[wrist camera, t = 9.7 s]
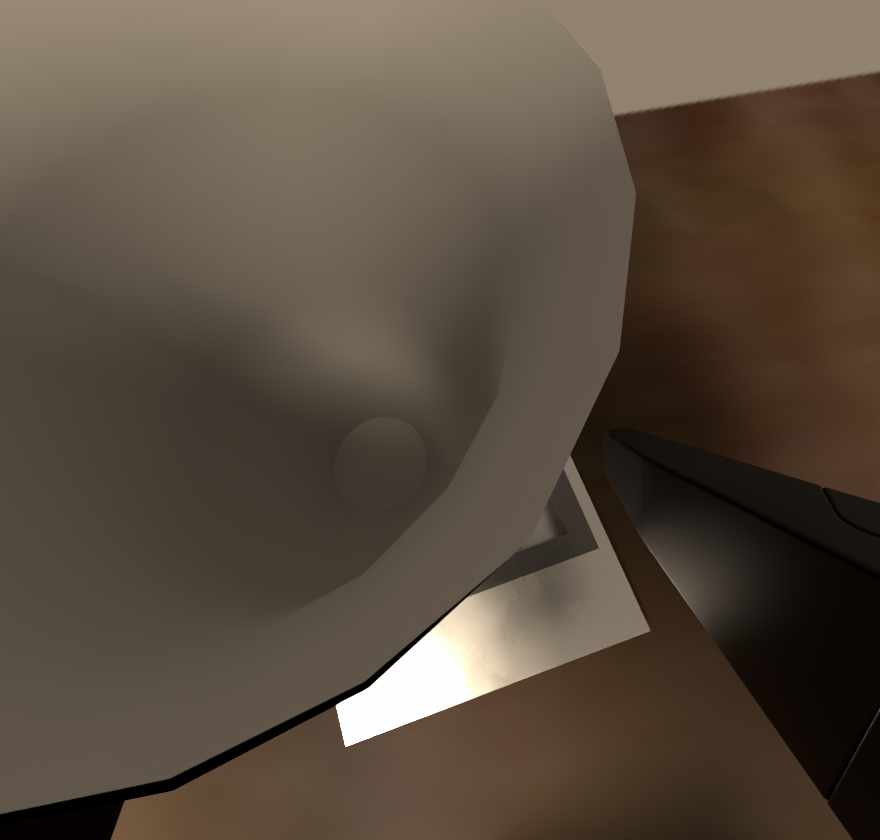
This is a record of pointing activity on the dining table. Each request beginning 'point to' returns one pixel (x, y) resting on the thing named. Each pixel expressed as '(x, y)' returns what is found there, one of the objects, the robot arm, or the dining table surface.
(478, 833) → the dining table surface
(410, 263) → the chalice
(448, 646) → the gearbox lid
